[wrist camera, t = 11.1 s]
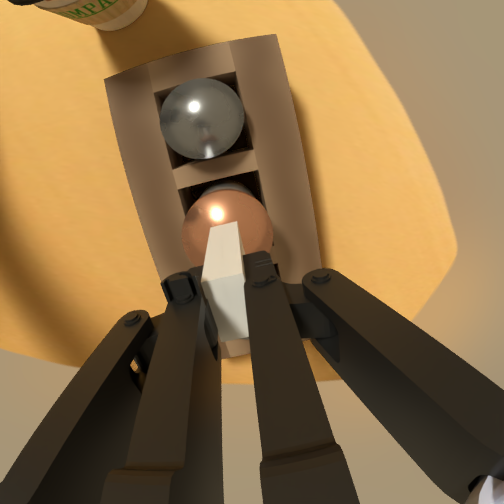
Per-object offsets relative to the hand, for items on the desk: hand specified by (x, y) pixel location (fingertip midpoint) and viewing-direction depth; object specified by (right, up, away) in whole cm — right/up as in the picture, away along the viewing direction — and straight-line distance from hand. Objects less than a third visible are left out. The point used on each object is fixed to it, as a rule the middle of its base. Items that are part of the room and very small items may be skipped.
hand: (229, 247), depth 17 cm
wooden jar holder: (-1, +4, +11) cm, 12 cm away
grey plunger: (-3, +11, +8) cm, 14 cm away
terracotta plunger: (-1, +3, +8) cm, 8 cm away
